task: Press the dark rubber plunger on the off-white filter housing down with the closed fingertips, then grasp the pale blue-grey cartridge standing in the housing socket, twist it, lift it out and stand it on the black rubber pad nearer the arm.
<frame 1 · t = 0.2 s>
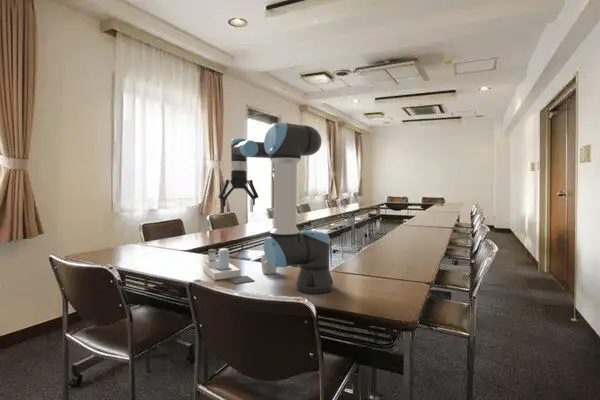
hand: (238, 212, 174), 27 cm above the table, fingers open, 13 cm apart
pad: (240, 280, 151), on the table
cup: (268, 274, 162), on the table
housing: (221, 273, 162), on the table
cartridge: (223, 275, 159), resting in housing
plunger: (212, 255, 164), point 8 cm above the table, slide at 0.0 cm
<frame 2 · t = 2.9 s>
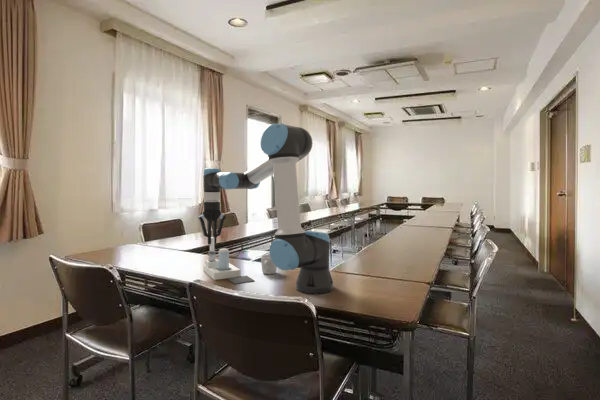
hand: (212, 251, 164), 10 cm above the table, fingers closed
plunger: (212, 257, 164), point 7 cm above the table, slide at 0.8 cm, touching gripper
everything else where it was.
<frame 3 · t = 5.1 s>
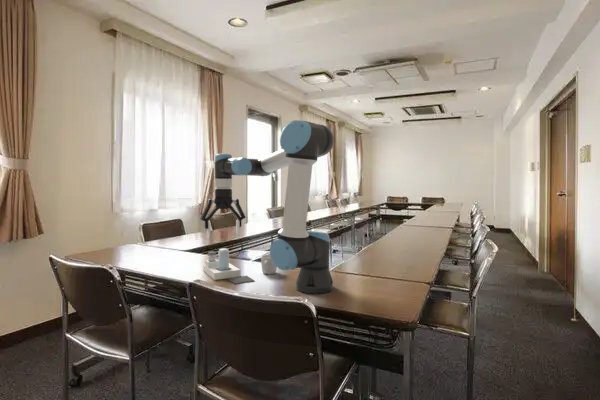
hand: (223, 235, 158), 18 cm above the table, fingers open, 13 cm apart
plunger: (212, 258, 164), point 7 cm above the table, slide at 1.1 cm
everything else where it was.
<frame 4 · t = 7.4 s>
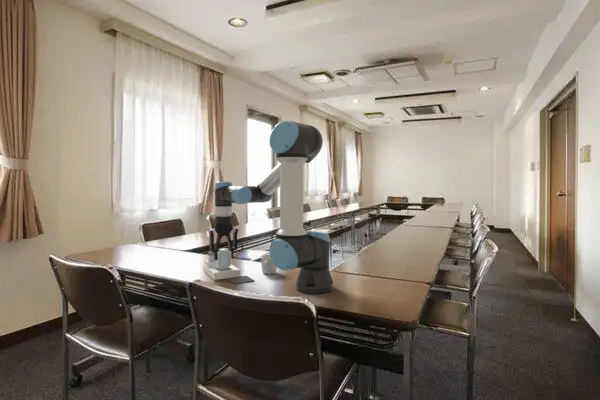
hand: (223, 266, 159), 4 cm above the table, fingers closed on cartridge, 5 cm apart
cartridge: (223, 275, 159), resting in housing, touching gripper
everything else where it was.
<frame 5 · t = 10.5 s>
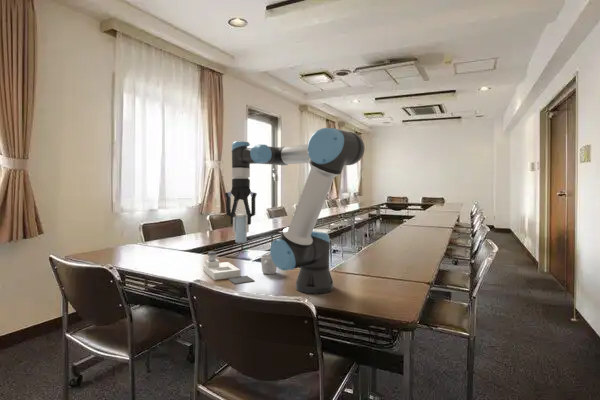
hand: (240, 231, 150), 21 cm above the table, fingers closed on cartridge, 5 cm apart
cartridge: (240, 241, 150), point 17 cm above the table, touching gripper
everything else where it was.
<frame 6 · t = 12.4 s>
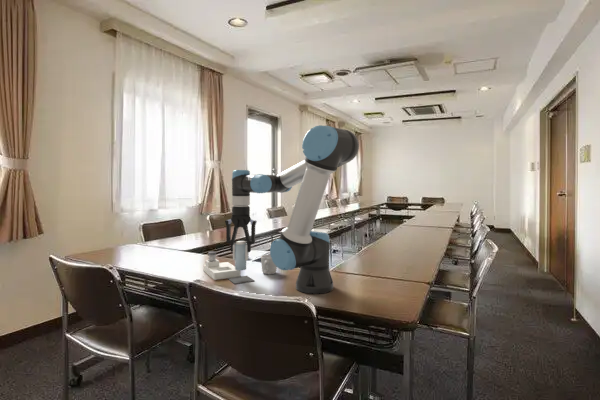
hand: (240, 259, 151), 9 cm above the table, fingers closed on cartridge, 5 cm apart
cartridge: (240, 268, 151), point 5 cm above the table, touching gripper
everything else where it was.
when the fingers open (5 cm above the table, at t = 13.9 s): cartridge drops 1 cm, resting on pad.
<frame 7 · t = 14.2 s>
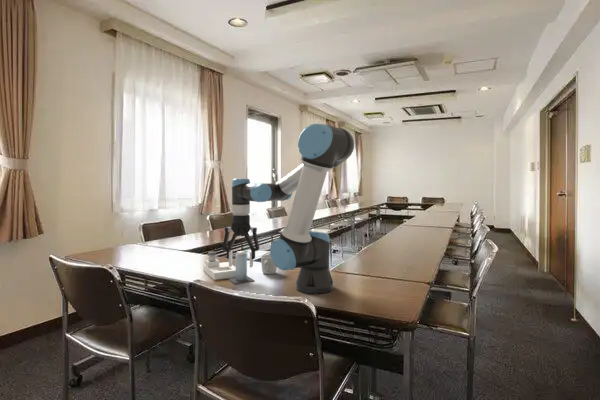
hand: (240, 266, 151), 6 cm above the table, fingers open, 8 cm apart
cartridge: (241, 279, 151), resting on pad
everything else where it was.
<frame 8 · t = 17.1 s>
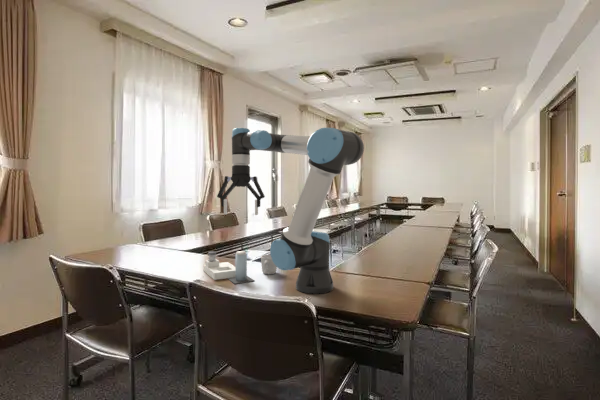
hand: (240, 214, 149), 29 cm above the table, fingers open, 13 cm apart
nothing on the table moved.
at the end: cartridge inside the target area on the pad (0.0 cm from its centre), point 0.4 cm above the pad's base; cartridge tilted 0°; plunger slide at 1.1 cm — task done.
